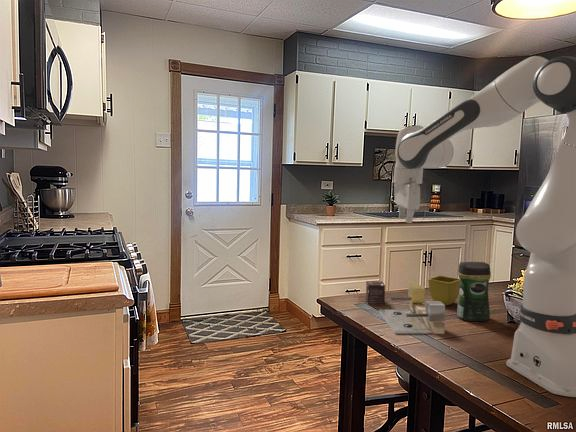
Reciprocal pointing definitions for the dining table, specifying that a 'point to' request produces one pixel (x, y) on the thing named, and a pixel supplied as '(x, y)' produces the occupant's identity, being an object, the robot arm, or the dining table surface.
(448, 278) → the flower pot
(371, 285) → the box
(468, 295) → the coffee jar
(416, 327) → the hole plate
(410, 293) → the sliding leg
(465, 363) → the dining table surface
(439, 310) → the beam
